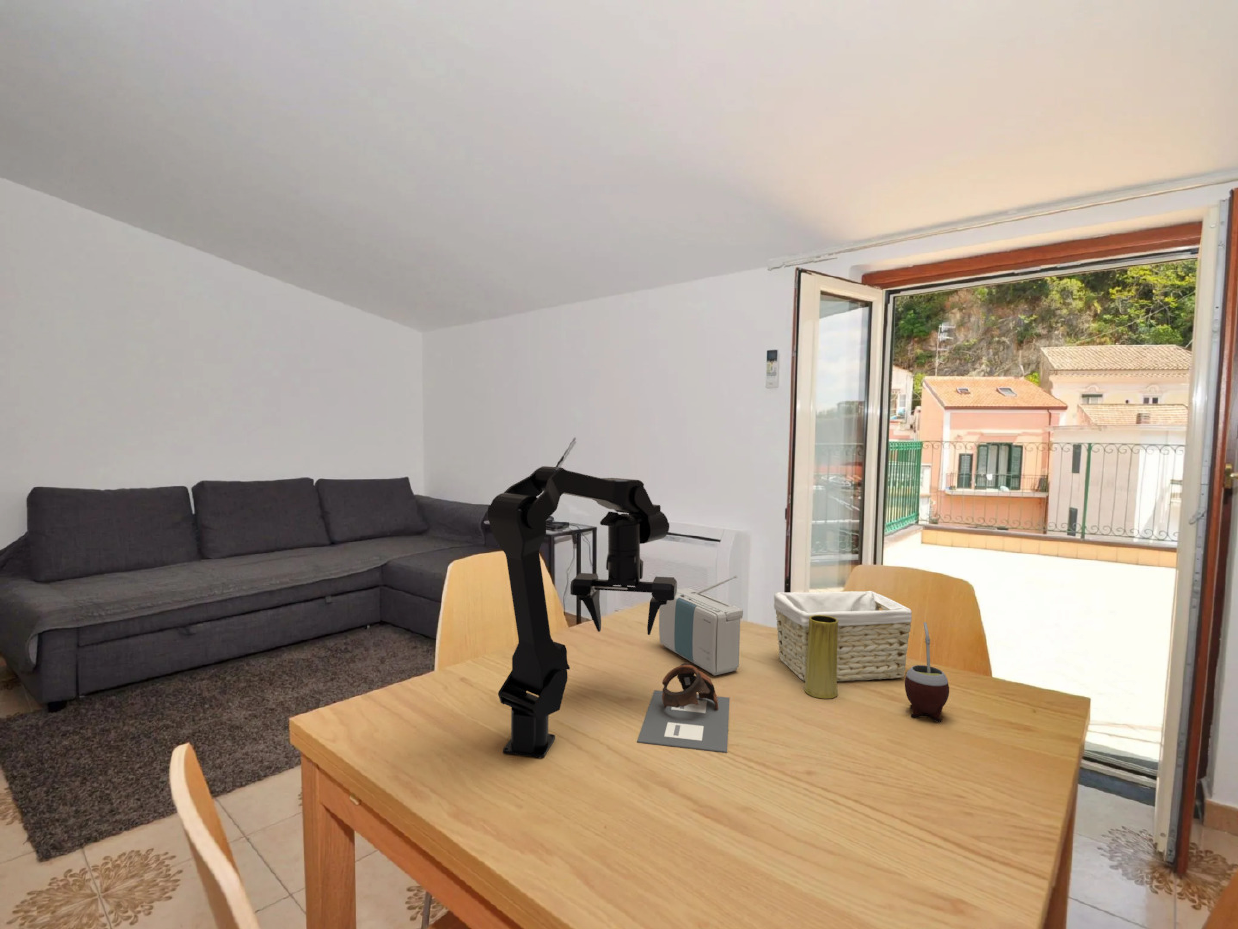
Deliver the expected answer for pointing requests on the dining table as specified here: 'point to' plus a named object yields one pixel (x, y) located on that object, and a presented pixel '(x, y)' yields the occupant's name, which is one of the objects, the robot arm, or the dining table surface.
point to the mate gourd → (926, 688)
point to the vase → (822, 657)
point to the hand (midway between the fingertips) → (624, 632)
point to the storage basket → (846, 632)
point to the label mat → (687, 724)
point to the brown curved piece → (688, 687)
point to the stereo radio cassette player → (702, 630)
